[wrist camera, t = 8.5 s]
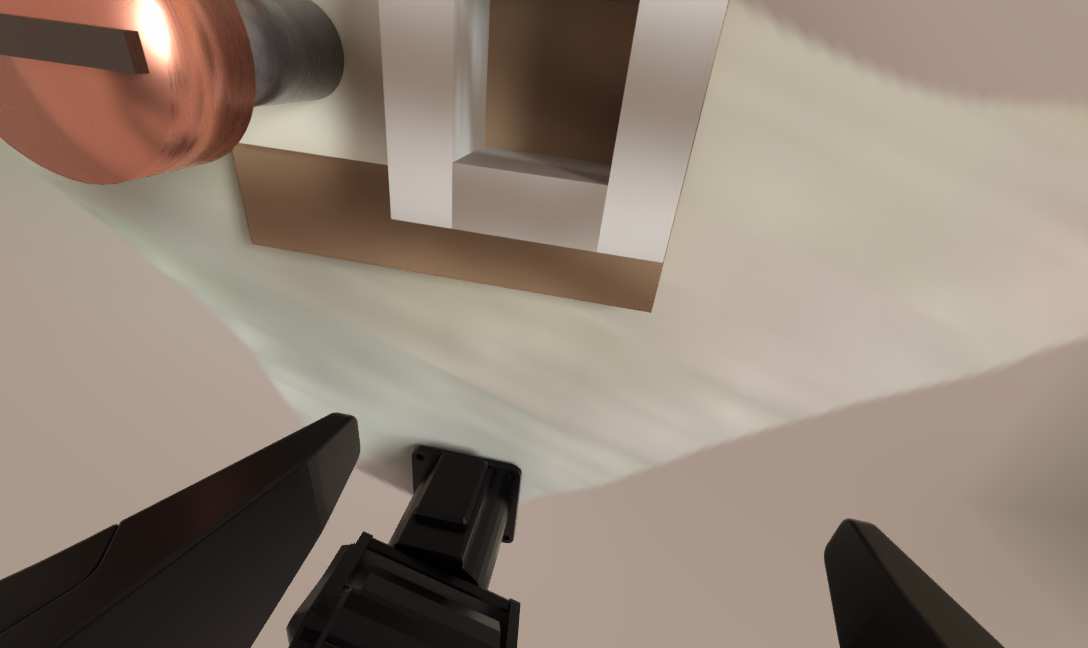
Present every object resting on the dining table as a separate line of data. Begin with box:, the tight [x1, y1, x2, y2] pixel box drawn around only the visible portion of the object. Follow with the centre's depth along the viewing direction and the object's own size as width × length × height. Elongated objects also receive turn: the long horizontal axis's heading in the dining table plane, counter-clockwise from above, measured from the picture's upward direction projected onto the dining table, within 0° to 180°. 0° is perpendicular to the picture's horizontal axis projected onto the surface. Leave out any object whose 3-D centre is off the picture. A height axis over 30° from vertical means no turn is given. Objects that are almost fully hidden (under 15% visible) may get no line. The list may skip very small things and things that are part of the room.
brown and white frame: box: [232, 0, 729, 312], centre depth 15 cm, size 16×18×5 cm
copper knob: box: [0, 0, 344, 185], centre depth 13 cm, size 6×6×9 cm
